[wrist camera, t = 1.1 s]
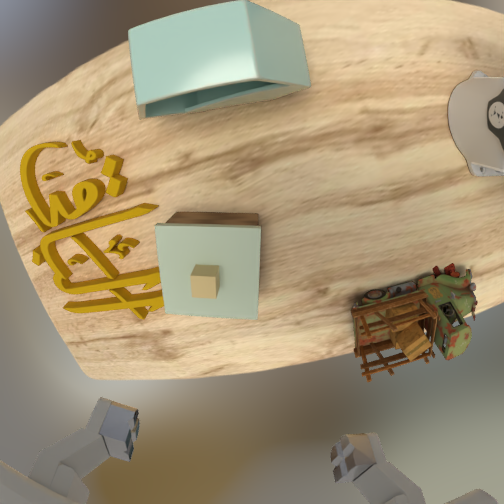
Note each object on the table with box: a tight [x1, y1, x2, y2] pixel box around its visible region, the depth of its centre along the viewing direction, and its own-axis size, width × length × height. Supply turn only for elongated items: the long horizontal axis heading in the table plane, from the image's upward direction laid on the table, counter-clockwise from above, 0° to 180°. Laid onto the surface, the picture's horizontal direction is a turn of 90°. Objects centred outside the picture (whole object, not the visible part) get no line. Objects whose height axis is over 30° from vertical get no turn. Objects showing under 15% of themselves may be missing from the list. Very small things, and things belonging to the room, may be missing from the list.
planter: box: [128, 0, 311, 120], centre depth 26 cm, size 17×8×21 cm
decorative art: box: [20, 140, 164, 319], centre depth 43 cm, size 34×3×30 cm
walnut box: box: [166, 212, 258, 226], centre depth 41 cm, size 12×12×7 cm
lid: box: [155, 223, 261, 320], centre depth 36 cm, size 13×13×4 cm
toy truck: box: [351, 263, 477, 382], centre depth 39 cm, size 11×25×15 cm, turn 105°
